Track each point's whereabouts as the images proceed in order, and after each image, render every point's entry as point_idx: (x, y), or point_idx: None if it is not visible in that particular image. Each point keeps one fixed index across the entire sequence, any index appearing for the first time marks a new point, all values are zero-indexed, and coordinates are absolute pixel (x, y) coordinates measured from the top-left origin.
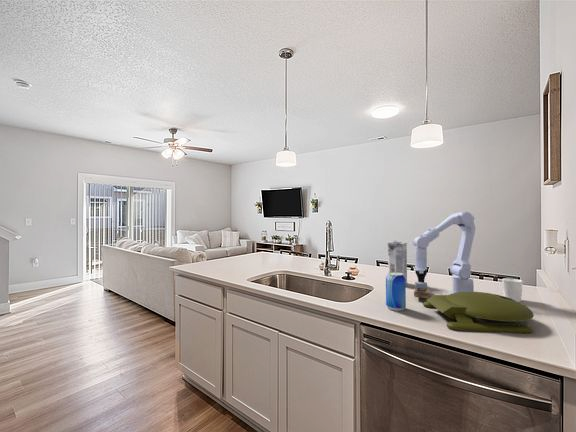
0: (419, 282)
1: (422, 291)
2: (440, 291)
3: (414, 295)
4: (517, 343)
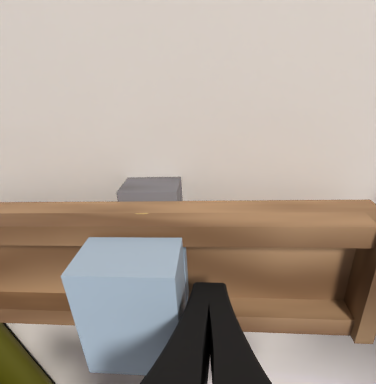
0: (138, 315)
1: None
2: (371, 349)
3: (127, 183)
4: None
